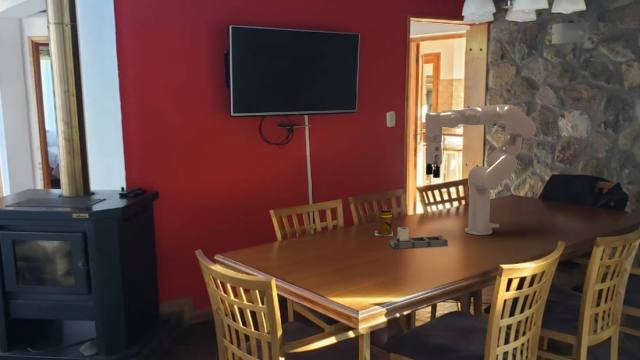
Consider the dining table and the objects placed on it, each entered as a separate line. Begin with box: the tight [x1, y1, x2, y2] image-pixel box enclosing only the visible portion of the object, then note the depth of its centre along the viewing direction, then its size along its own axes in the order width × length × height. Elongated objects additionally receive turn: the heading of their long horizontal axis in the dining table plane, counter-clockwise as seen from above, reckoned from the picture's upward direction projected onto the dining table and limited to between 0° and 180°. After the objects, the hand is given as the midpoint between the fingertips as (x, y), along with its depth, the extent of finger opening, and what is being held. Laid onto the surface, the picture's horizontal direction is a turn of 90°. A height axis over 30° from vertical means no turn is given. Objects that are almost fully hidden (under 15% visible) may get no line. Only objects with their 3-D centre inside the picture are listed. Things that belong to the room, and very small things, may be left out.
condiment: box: [374, 208, 394, 237], centre depth 270 cm, size 7×8×12 cm
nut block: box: [396, 226, 410, 242], centre depth 249 cm, size 4×4×8 cm
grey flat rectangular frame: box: [389, 235, 448, 250], centre depth 251 cm, size 24×8×2 cm, turn 98°
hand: (432, 176), depth 262 cm, fingers open, 9 cm apart
